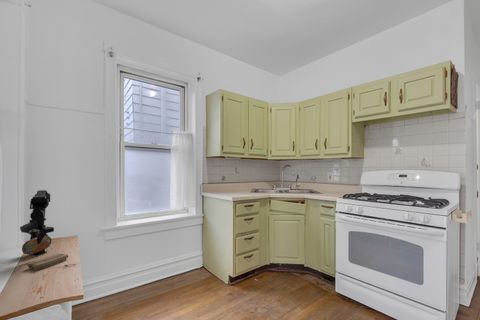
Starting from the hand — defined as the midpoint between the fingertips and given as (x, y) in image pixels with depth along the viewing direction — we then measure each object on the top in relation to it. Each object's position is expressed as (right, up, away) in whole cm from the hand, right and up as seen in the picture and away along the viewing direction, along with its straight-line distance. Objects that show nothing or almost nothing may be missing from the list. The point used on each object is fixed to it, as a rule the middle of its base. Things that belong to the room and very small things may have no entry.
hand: (36, 243), depth 144 cm
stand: (+11, -10, -6) cm, 16 cm away
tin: (0, -5, 0) cm, 5 cm away
